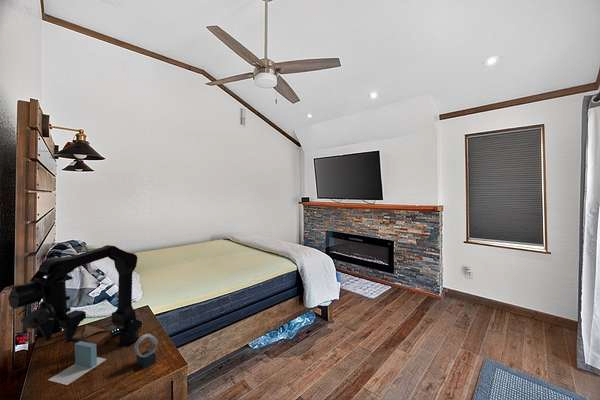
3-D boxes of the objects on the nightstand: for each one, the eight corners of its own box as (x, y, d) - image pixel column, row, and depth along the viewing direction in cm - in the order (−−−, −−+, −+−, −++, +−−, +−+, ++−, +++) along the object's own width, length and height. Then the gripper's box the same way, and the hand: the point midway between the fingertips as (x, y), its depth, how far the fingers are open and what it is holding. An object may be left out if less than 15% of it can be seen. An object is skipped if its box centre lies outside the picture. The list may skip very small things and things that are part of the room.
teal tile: (80, 361, 101) (80, 341, 101) (96, 364, 99) (96, 344, 99) (75, 364, 99) (74, 343, 99) (91, 368, 97) (90, 347, 97)
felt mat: (89, 356, 105) (89, 355, 105) (106, 359, 102) (106, 359, 102) (47, 380, 91) (47, 379, 91) (67, 385, 89) (67, 385, 89)
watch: (160, 360, 103) (160, 332, 102) (139, 371, 96) (138, 342, 96) (153, 355, 106) (152, 328, 105) (131, 366, 99) (131, 337, 99)
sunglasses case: (66, 339, 116) (74, 323, 119) (81, 340, 122) (88, 324, 125) (94, 347, 110) (102, 330, 113) (109, 347, 116) (116, 331, 119)
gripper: (4, 304, 83) (7, 353, 84) (47, 307, 79) (51, 358, 79) (45, 291, 94) (48, 334, 94) (85, 293, 90) (88, 338, 90)
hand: (58, 341), depth 89 cm, fingers open, 9 cm apart
